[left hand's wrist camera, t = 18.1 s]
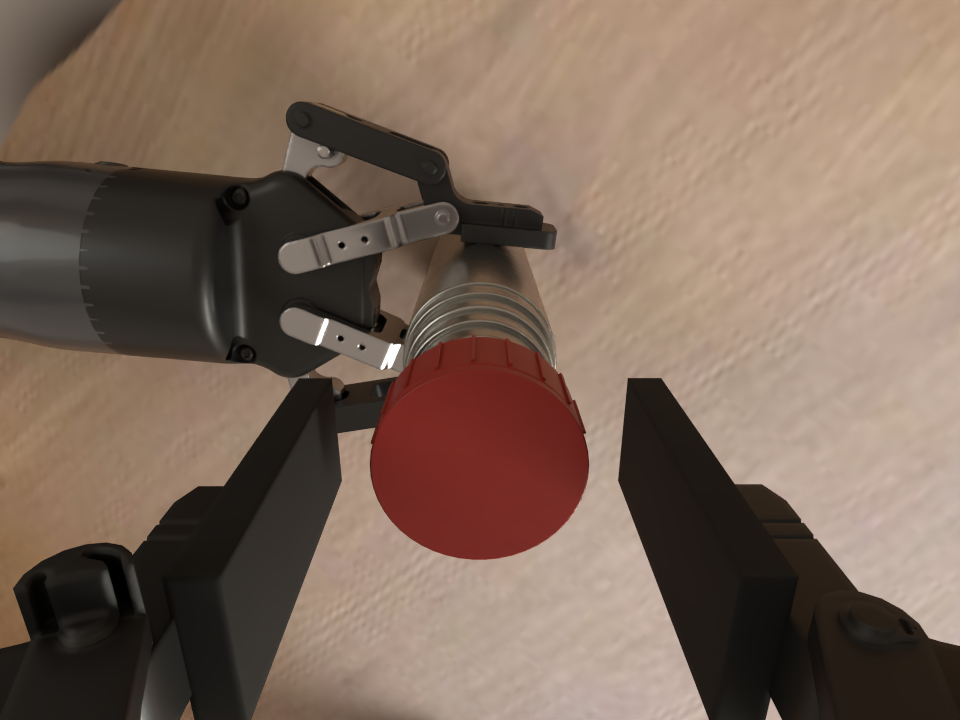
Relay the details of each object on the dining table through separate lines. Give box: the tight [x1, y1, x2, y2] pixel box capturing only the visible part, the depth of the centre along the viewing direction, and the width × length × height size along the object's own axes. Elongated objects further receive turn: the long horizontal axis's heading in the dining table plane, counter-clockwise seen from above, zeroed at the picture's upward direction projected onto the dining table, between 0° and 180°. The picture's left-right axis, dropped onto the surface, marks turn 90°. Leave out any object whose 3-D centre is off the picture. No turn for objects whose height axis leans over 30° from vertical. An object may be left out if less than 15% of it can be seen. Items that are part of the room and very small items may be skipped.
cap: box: [370, 335, 589, 560], centre depth 14 cm, size 5×5×2 cm
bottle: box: [403, 234, 556, 370], centre depth 23 cm, size 5×5×20 cm
